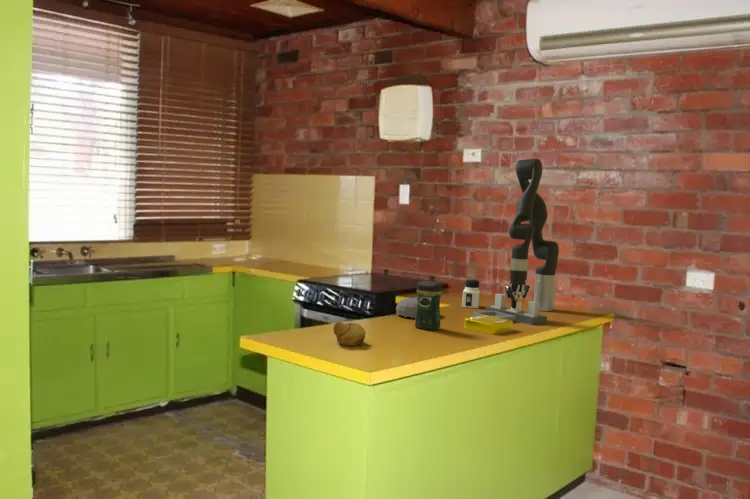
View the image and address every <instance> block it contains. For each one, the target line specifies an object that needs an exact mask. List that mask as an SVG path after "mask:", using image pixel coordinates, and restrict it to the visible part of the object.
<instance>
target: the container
mask: <svg viewBox="0 0 750 499" xmlns="http://www.w3.org/2000/svg"><path fill="white" fill-rule="evenodd" d="M479 289H480V281H479V280H478V279H472V278H468V279H465V283H464V289H463V291H462V302H461V307H462V308H467V307H468V308H469V309H479V308H480V307H479V306H480V303H481V302H480V300H481V298H480V297H481V290H479Z"/></svg>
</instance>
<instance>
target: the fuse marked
mask: <svg viewBox="0 0 750 499" xmlns="http://www.w3.org/2000/svg"><path fill="white" fill-rule="evenodd" d="M522 304H523V299H522V298H517V299H516V308H511V307H510V308H511V310H513V311H517V313H521V310H522V306H523V305H522Z"/></svg>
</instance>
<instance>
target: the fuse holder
mask: <svg viewBox="0 0 750 499" xmlns="http://www.w3.org/2000/svg"><path fill="white" fill-rule="evenodd" d="M485 311H497V312H501V313H506V314H510V315H514V316H516V322H519V323H523V324H528V325H533V326H534V325H535V326H536V325H543V324H544V325H545V324H546V325H547V322H548V316H546V315H542V314H540V313H539V315H538V317H534V315H530V314H527V312H528V311H525V310H522V309H521V313H517V311H513V310H511V307H509V306H506V305H505V309H501V307H496V306H494V305H490V306H488V305H487V306H486V307H485Z"/></svg>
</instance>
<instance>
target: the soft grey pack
mask: <svg viewBox="0 0 750 499" xmlns="http://www.w3.org/2000/svg"><path fill="white" fill-rule="evenodd" d="M417 305H418V295H413V296H409V297H405V298H402V299H400V301H399V302H398V303H397V304H396V307H395V311H396V312H395V313H396V315H397V316H398V315H401V316H405V317H412V318H411V319H414V318H415V319H416V313H417ZM401 316H400V317H401ZM405 317H404V318H405Z"/></svg>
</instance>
